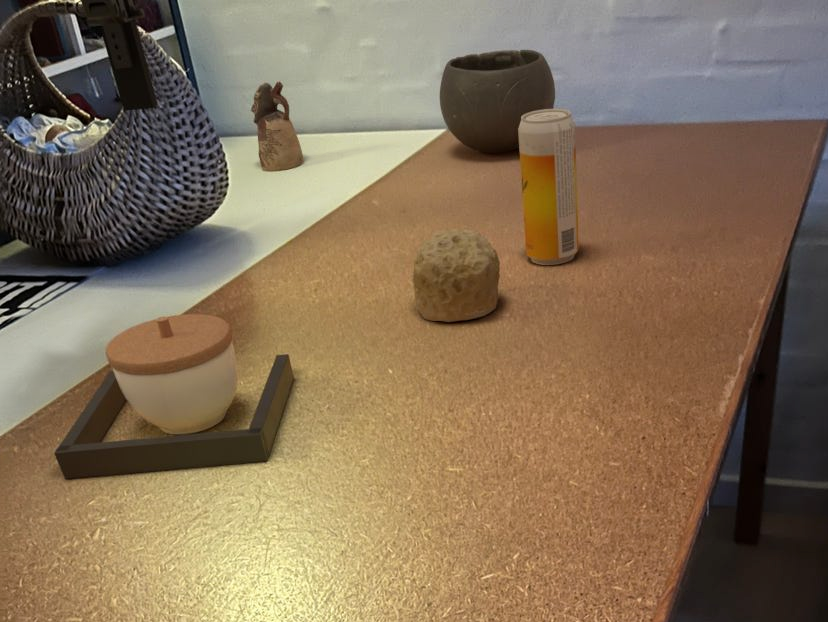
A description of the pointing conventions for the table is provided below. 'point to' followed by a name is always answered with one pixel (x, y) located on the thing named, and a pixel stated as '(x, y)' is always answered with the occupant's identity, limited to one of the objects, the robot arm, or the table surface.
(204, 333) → the trinket box
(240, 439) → the frame
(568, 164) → the beer can
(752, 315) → the table surface
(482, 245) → the coral
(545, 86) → the bowl
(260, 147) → the figurine
